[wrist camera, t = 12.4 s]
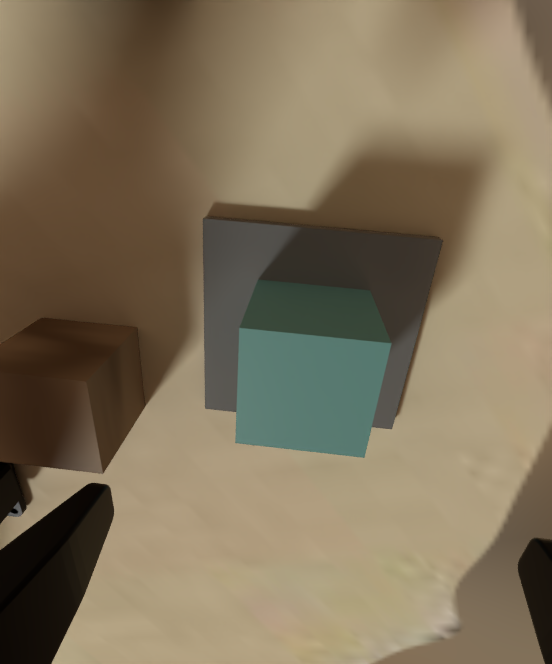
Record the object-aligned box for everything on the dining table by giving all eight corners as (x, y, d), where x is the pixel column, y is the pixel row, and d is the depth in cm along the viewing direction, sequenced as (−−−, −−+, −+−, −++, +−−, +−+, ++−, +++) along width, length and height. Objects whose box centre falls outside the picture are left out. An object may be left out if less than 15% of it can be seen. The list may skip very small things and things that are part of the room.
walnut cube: (60, 396, 20) (-4, 461, 16) (42, 317, 18) (-37, 368, 14) (145, 405, 20) (102, 473, 16) (137, 326, 18) (86, 381, 13)
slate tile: (207, 402, 19) (205, 408, 18) (206, 216, 15) (202, 218, 14) (390, 422, 19) (392, 429, 18) (439, 237, 15) (442, 240, 14)
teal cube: (252, 373, 17) (235, 443, 13) (257, 279, 15) (239, 327, 11) (351, 384, 17) (364, 457, 13) (370, 290, 15) (391, 343, 11)
